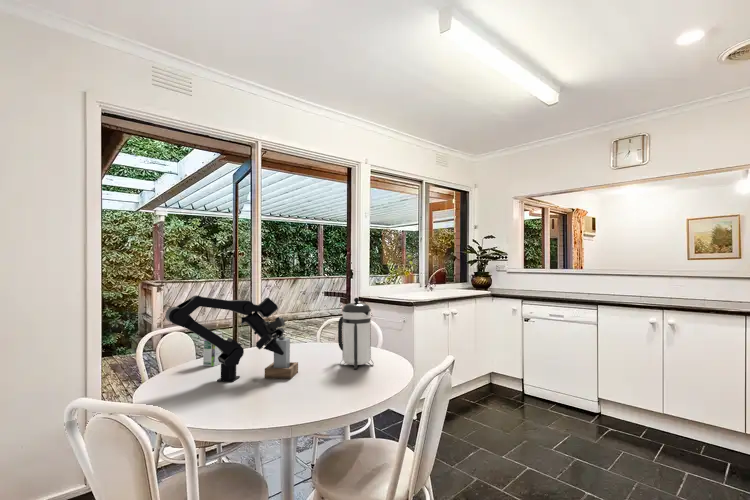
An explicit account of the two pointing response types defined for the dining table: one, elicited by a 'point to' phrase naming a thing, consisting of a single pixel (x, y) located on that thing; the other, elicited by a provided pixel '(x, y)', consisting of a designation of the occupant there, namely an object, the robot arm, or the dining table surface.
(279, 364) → the plug
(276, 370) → the socket
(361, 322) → the coffee press
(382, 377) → the dining table surface
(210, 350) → the syrup box
